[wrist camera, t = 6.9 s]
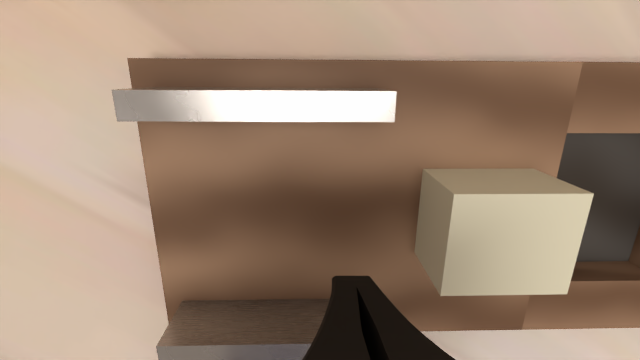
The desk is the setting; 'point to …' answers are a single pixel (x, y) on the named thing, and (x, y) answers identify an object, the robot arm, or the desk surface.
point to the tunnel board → (391, 183)
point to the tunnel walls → (248, 315)
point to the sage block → (499, 231)
